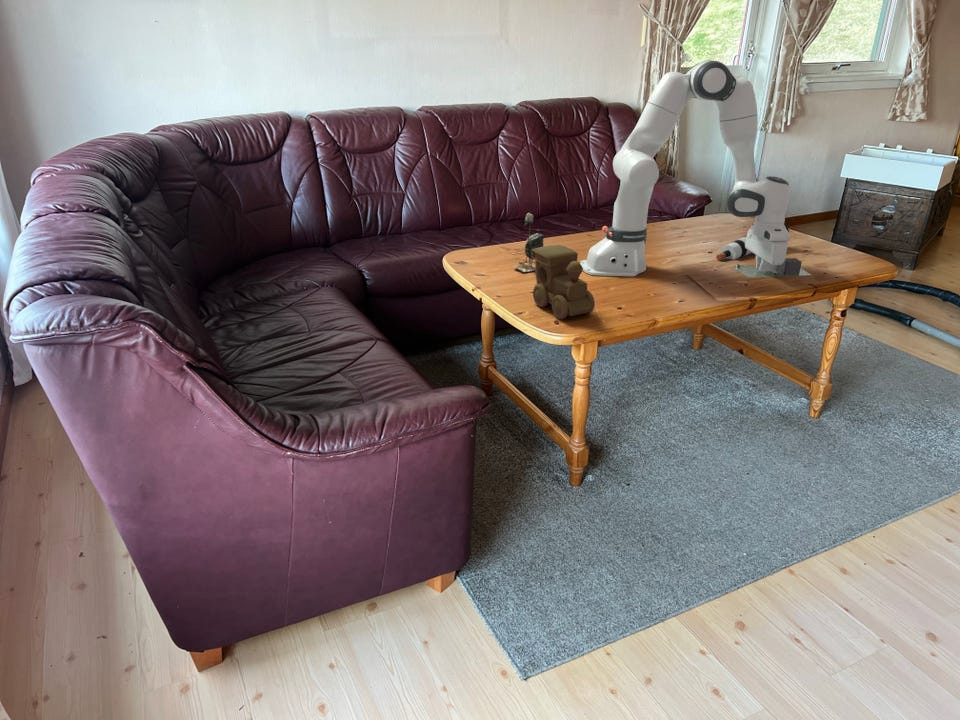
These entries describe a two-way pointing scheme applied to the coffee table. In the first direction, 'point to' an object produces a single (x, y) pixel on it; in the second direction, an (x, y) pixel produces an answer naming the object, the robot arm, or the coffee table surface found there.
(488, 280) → the coffee table surface
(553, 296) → the wooden toy train
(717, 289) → the coffee table surface
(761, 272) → the housing
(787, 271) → the plug
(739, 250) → the cable
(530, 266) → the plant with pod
